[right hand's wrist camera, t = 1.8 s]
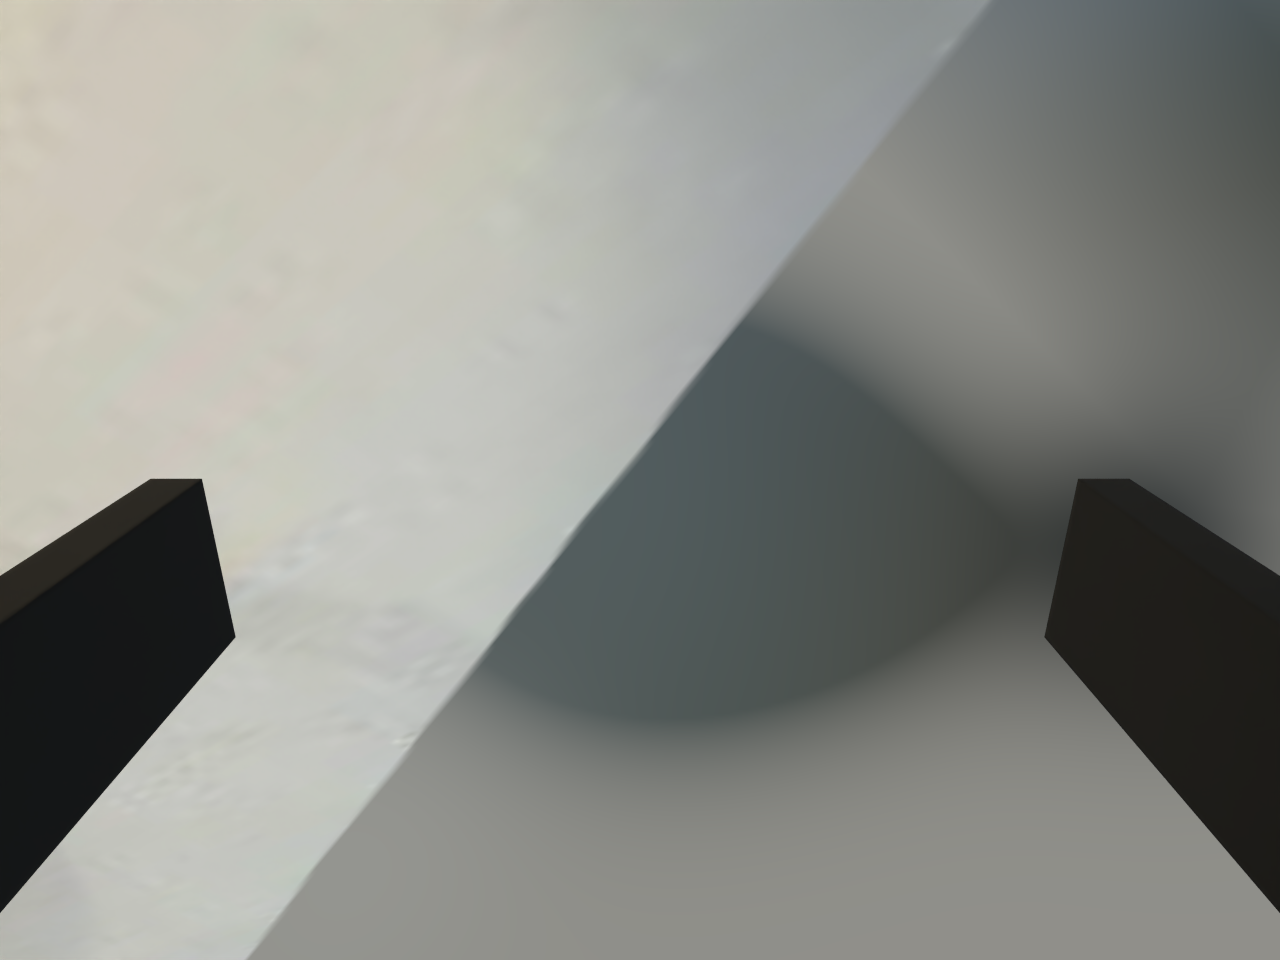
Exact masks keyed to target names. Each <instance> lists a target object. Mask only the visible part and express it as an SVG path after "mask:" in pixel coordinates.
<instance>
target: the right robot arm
mask: <svg viewBox="0 0 1280 960" xmlns="http://www.w3.org/2000/svg"><path fill="white" fill-rule="evenodd" d="M234 638H235V632H234V628H233V623H232V618H231V614H230V609H229V604H228V599H227V595H226V590H225V585H224V581H223V576H222V571H221V567H220V562H219V557H218V553H217V548H216V543H215V538H214V534H213V529H212V524H211V520H210V515H209V510H208V506H207V501H206V496H205V491H204V487H203V482H202V479H150V480H148V481H147V482H145V483H143V484H142V485H140V486H139V487H137V488H136V489H134V490H133V491H131V492H130V493H128V494H126V495H125V496H123V497H122V498H120V499H119V500H117V501H116V502H114V503H112V504H111V505H109V506H108V507H106V508H105V509H103V510H102V511H100V512H99V513H97V514H95V515H94V516H92V517H91V518H89V519H88V520H86V521H85V522H83V523H81V524H80V525H78V526H77V527H75V528H74V529H72V530H71V531H69V532H68V533H66V534H64V535H63V536H61V537H60V538H58V539H57V540H55V541H54V542H52V543H50V544H49V545H47V546H46V547H44V548H43V549H41V550H40V551H38V552H37V553H35V554H33V555H32V556H30V557H29V558H27V559H26V560H24V561H23V562H21V563H19V564H18V565H16V566H15V567H13V568H12V569H10V570H9V571H7V572H6V573H4V574H2V575H1V576H0V913H1V911H2V910H3V909H4V908H5V907H6V905H7V904H8V903H9V902H10V901H11V900H12V898H13V897H14V896H15V895H16V894H17V893H18V891H19V890H20V889H21V888H22V887H23V886H24V884H25V883H26V882H27V881H28V880H29V879H30V877H31V876H32V875H33V874H34V873H35V872H36V870H37V869H38V868H39V867H40V866H41V864H42V863H43V862H44V861H45V860H46V859H47V857H48V856H49V855H50V854H51V853H52V852H53V850H54V849H55V848H56V847H57V846H58V845H59V843H60V842H61V841H62V840H63V839H64V838H65V836H66V835H67V834H68V833H69V832H70V830H71V829H72V828H73V827H74V826H75V825H76V823H77V822H78V821H79V820H80V819H81V818H82V816H83V815H84V814H85V813H86V812H87V811H88V809H89V808H90V807H91V806H92V805H93V804H94V802H95V801H96V800H97V799H98V798H99V797H100V795H101V794H102V793H103V792H104V791H105V789H106V788H107V787H108V786H109V785H110V784H111V782H112V781H113V780H114V779H115V778H116V777H117V775H118V774H119V773H120V772H121V771H122V770H123V768H124V767H125V766H126V765H127V764H128V763H129V761H130V760H131V759H132V758H133V757H134V756H135V754H136V753H137V752H138V751H139V750H140V748H141V747H142V746H143V745H144V744H145V743H146V741H147V740H148V739H149V738H150V737H151V736H152V734H153V733H154V732H155V731H156V730H157V729H158V727H159V726H160V725H161V724H162V723H163V722H164V720H165V719H166V718H167V717H168V716H169V714H170V713H171V712H172V711H173V710H174V709H175V707H176V706H177V705H178V704H179V703H180V702H181V700H182V699H183V698H184V697H185V696H186V695H187V693H188V692H189V691H190V690H191V689H192V688H193V686H194V685H195V684H196V683H197V682H198V681H199V679H200V678H201V677H202V676H203V675H204V673H205V672H206V671H207V670H208V669H209V668H210V666H211V665H212V664H213V663H214V662H215V661H216V659H217V658H218V657H219V656H220V655H221V654H222V652H223V651H224V650H225V649H226V648H227V647H228V645H229V644H230V643H231V642H232V641H233V639H234ZM1045 638H1046V639H1047V641H1048V642H1049V643H1050V644H1051V645H1052V646H1053V648H1054V649H1055V650H1056V651H1057V652H1058V653H1059V655H1060V656H1061V657H1062V658H1063V659H1064V661H1065V662H1066V663H1067V664H1068V665H1069V666H1070V668H1071V669H1072V670H1073V671H1074V672H1075V673H1076V675H1077V676H1078V677H1079V678H1080V679H1081V680H1082V682H1083V683H1084V684H1085V685H1086V686H1087V688H1088V689H1089V690H1090V691H1091V692H1092V693H1093V695H1094V696H1095V697H1096V698H1097V699H1098V700H1099V702H1100V703H1101V704H1102V705H1103V706H1104V707H1105V709H1106V710H1107V711H1108V712H1109V713H1110V714H1111V716H1112V717H1113V718H1114V719H1115V720H1116V721H1117V723H1118V724H1119V725H1120V726H1121V727H1122V729H1123V730H1124V731H1125V732H1126V733H1127V734H1128V736H1129V737H1130V738H1131V739H1132V740H1133V741H1134V743H1135V744H1136V745H1137V746H1138V747H1139V748H1140V750H1141V751H1142V752H1143V753H1144V754H1145V755H1146V757H1147V758H1148V759H1149V760H1150V761H1151V763H1152V764H1153V765H1154V766H1155V767H1156V768H1157V770H1158V771H1159V772H1160V773H1161V774H1162V775H1163V777H1164V778H1165V779H1166V780H1167V781H1168V782H1169V784H1170V785H1171V786H1172V787H1173V788H1174V789H1175V791H1176V792H1177V793H1178V794H1179V795H1180V796H1181V798H1182V799H1183V800H1184V801H1185V802H1186V804H1187V805H1188V806H1189V807H1190V808H1191V809H1192V811H1193V812H1194V813H1195V814H1196V815H1197V816H1198V818H1199V819H1200V820H1201V821H1202V822H1203V823H1204V825H1205V826H1206V827H1207V828H1208V829H1209V830H1210V832H1211V833H1212V834H1213V835H1214V836H1215V838H1216V839H1217V840H1218V841H1219V842H1220V843H1221V844H1222V846H1223V847H1224V848H1225V849H1226V850H1227V852H1228V853H1229V854H1230V855H1231V856H1232V857H1233V859H1234V860H1235V861H1236V862H1237V863H1238V864H1239V866H1240V867H1241V868H1242V869H1243V870H1244V872H1245V873H1246V874H1247V875H1248V876H1249V877H1250V879H1251V880H1252V881H1253V882H1254V883H1255V884H1256V886H1257V887H1258V888H1259V889H1260V890H1261V891H1262V893H1263V894H1264V895H1265V896H1266V897H1267V898H1268V900H1269V901H1270V902H1271V903H1272V904H1273V905H1274V907H1275V908H1276V909H1277V910H1278V911H1279V913H1280V576H1279V575H1277V574H1276V573H1274V572H1273V571H1271V570H1270V569H1268V568H1267V567H1265V566H1264V565H1262V564H1260V563H1259V562H1257V561H1256V560H1254V559H1253V558H1251V557H1250V556H1248V555H1247V554H1245V553H1243V552H1242V551H1240V550H1239V549H1237V548H1236V547H1234V546H1233V545H1231V544H1229V543H1228V542H1226V541H1225V540H1223V539H1222V538H1220V537H1219V536H1217V535H1216V534H1214V533H1212V532H1211V531H1209V530H1208V529H1206V528H1205V527H1203V526H1202V525H1200V524H1198V523H1197V522H1195V521H1194V520H1192V519H1191V518H1189V517H1188V516H1186V515H1185V514H1183V513H1181V512H1180V511H1178V510H1177V509H1175V508H1174V507H1172V506H1171V505H1169V504H1168V503H1166V502H1164V501H1163V500H1161V499H1160V498H1158V497H1157V496H1155V495H1154V494H1152V493H1150V492H1149V491H1147V490H1146V489H1144V488H1143V487H1141V486H1140V485H1138V484H1137V483H1135V482H1133V481H1132V480H1130V479H1078V482H1077V487H1076V491H1075V496H1074V501H1073V506H1072V510H1071V515H1070V520H1069V525H1068V529H1067V534H1066V538H1065V543H1064V548H1063V553H1062V557H1061V562H1060V567H1059V571H1058V576H1057V581H1056V585H1055V590H1054V595H1053V599H1052V604H1051V609H1050V614H1049V618H1048V623H1047V628H1046V633H1045Z"/></svg>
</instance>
